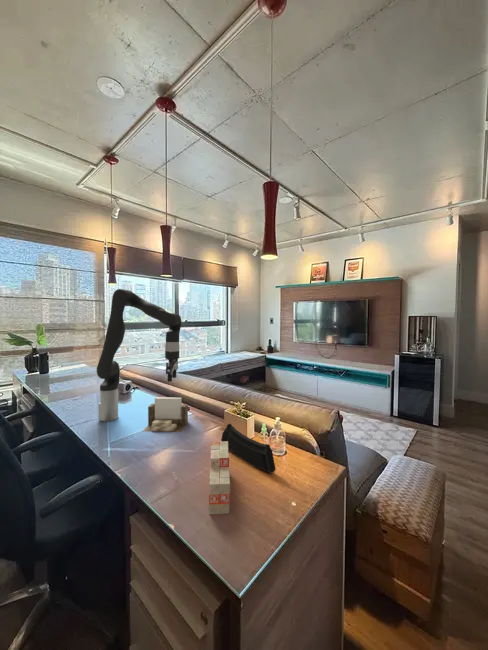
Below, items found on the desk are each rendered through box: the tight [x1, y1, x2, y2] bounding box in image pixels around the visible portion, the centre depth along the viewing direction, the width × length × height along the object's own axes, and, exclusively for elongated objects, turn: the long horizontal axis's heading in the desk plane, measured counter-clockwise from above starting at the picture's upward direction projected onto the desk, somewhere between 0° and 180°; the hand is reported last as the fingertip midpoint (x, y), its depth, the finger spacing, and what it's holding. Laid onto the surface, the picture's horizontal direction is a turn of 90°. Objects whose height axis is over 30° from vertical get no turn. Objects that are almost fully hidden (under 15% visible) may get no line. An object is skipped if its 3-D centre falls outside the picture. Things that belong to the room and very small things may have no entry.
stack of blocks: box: [208, 441, 231, 515], centre depth 90 cm, size 21×6×12 cm, turn 5°
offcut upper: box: [152, 420, 172, 427], centre depth 138 cm, size 9×4×2 cm, turn 88°
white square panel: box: [154, 396, 183, 425], centre depth 144 cm, size 14×2×14 cm, turn 88°
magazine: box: [220, 423, 277, 474], centre depth 110 cm, size 17×3×30 cm
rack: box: [142, 403, 189, 433], centre depth 141 cm, size 20×14×11 cm
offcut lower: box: [150, 424, 177, 432], centre depth 138 cm, size 12×4×2 cm, turn 88°
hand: (172, 379), depth 146 cm, fingers open, 8 cm apart
